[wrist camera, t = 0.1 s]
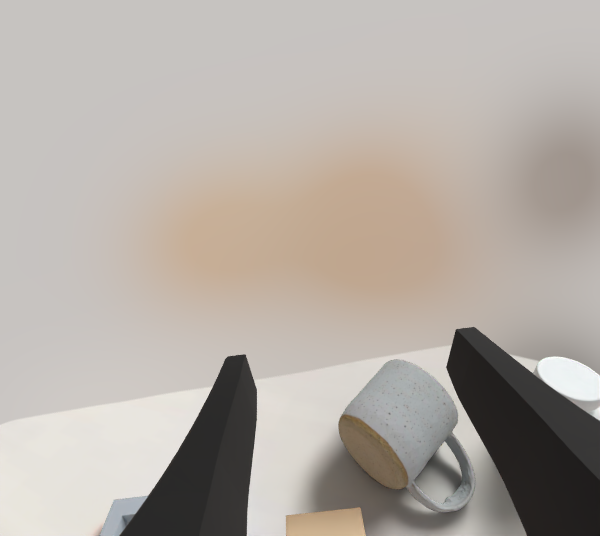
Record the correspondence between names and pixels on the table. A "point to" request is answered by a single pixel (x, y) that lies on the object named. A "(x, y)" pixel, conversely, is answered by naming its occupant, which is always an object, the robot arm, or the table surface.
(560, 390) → the supplement bottle
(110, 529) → the peg frame
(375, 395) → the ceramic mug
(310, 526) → the tan rectangular block
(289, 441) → the table surface
